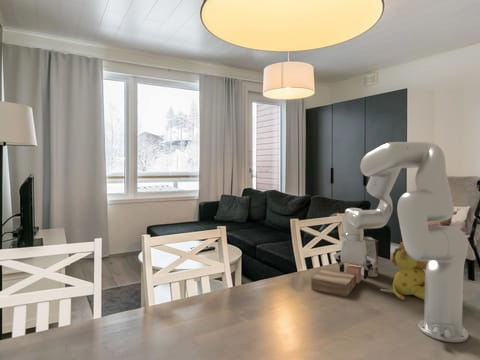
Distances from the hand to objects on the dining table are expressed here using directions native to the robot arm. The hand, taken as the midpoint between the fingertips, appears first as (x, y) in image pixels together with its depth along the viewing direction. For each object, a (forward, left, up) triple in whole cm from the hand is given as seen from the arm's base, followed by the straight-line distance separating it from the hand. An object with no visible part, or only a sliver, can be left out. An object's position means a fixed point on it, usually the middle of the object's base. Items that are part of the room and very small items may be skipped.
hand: (353, 276), depth 140 cm
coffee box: (+12, -3, -2) cm, 12 cm away
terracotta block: (0, 0, -2) cm, 2 cm away
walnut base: (-12, +5, -2) cm, 13 cm away
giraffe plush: (-1, -24, -2) cm, 24 cm away
